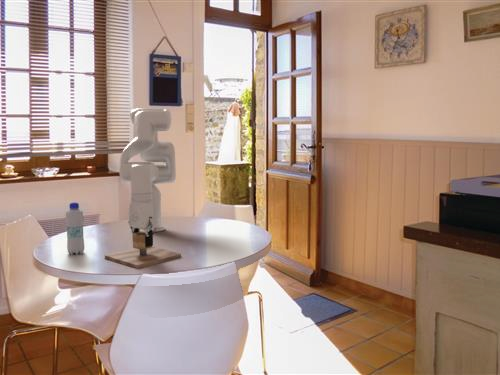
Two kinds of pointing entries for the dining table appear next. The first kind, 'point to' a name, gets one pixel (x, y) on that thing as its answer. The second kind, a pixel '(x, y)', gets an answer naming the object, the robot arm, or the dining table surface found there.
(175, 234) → the dining table surface
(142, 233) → the collar
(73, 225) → the bottle
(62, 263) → the dining table surface
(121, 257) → the post board
